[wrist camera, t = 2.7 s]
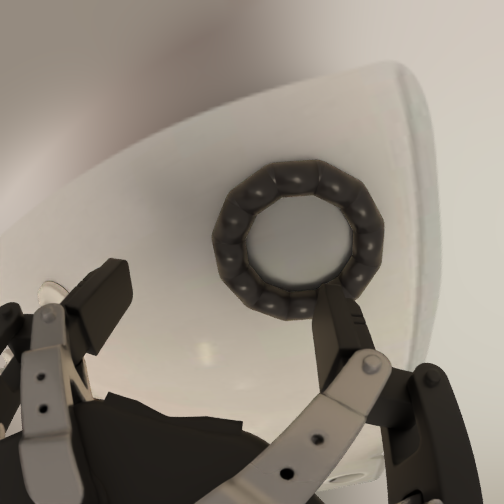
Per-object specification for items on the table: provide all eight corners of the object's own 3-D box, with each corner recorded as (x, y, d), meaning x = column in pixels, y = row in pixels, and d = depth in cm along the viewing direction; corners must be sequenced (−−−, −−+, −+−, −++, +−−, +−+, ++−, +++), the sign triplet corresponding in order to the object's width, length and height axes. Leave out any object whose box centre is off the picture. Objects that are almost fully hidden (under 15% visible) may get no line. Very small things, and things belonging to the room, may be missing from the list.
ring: (204, 169, 14) (195, 175, 13) (378, 155, 13) (391, 160, 12) (231, 312, 19) (227, 329, 17) (370, 300, 17) (378, 317, 16)
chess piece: (34, 285, 20) (-29, 352, 11) (60, 276, 19) (-13, 355, 10) (59, 327, 22) (8, 398, 13) (89, 323, 21) (33, 407, 12)
